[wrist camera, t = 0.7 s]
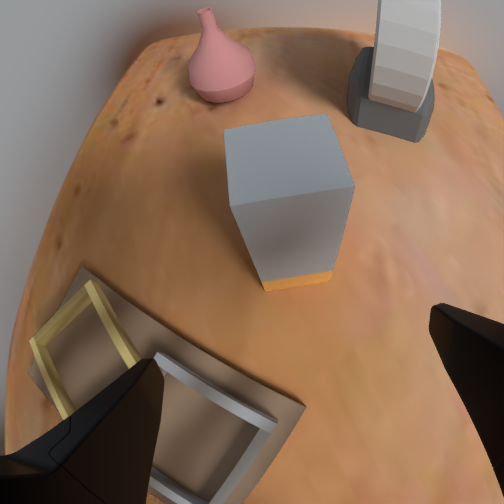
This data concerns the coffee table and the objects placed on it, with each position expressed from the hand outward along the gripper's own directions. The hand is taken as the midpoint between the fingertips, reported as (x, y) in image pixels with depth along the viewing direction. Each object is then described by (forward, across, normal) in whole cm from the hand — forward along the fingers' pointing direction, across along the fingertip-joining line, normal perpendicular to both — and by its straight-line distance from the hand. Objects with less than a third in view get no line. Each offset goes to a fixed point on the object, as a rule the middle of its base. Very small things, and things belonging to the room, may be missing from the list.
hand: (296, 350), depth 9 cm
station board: (+8, +13, +10) cm, 19 cm away
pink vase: (+31, +2, -13) cm, 33 cm away
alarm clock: (+27, -17, -9) cm, 33 cm away
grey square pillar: (+15, -1, +3) cm, 15 cm away
